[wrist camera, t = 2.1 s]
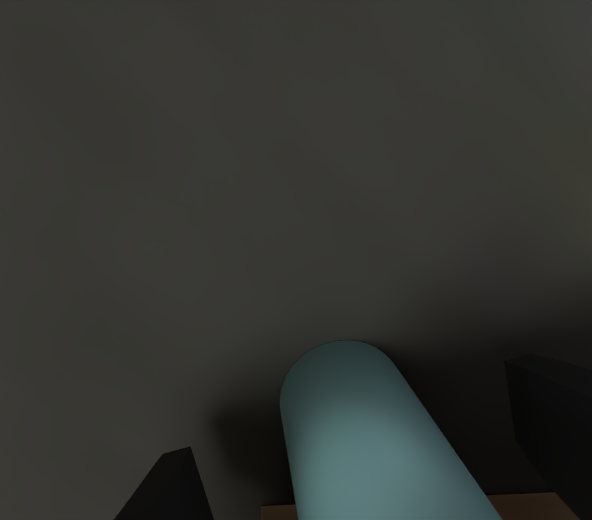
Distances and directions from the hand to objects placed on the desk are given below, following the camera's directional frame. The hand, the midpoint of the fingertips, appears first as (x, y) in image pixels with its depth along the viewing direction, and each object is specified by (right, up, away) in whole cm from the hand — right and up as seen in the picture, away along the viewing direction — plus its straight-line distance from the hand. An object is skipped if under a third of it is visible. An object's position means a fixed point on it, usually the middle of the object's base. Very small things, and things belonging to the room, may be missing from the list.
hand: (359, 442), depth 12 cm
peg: (0, 0, +2) cm, 2 cm away
